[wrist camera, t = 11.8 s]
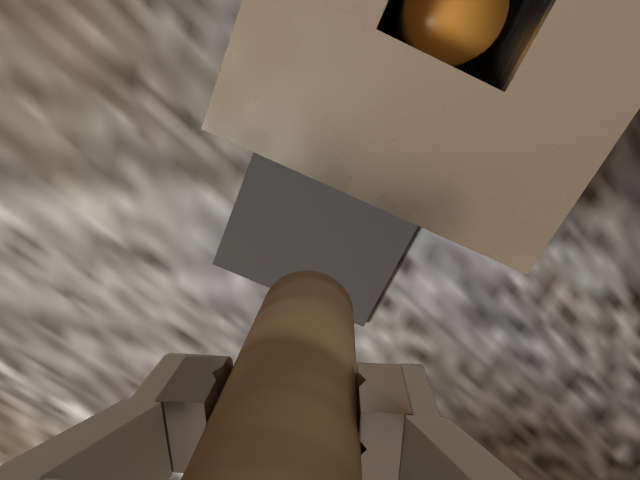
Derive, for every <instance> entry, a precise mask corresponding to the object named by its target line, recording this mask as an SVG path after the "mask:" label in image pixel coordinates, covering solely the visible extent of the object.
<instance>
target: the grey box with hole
mask: <svg viewBox="0 0 640 480" xmlns="http://www.w3.org/2000/svg"><path fill="white" fill-rule="evenodd" d="M389 1H390V0H242V3H241V6H240V9H239V13H238V16H237V19H236V22H235V25H234V28H233V31H232V35H231V38H230V41H229V44H228V47H227V50H226V53H225V57H224V60H223V63H222V66H221V69H220V72H219V75H218V78H217V82H216V85H215V88H214V91H213V94H212V97H211V100H210V104H209V107H208V110H207V113H206V116H205V119H204V122H203V126H202V129H203V130H205V131H207V132H210V133H212V134H214V135H216V136H219V137H221V138H223V139H225V140H227V141H230V142H232V143H234V144H236V145H239V146H241V147H243V148H245V149H248V150H250V151H252V152H254V153H257V154H259V155H261V156H263V157H265V158H268V159H270V160H272V161H274V162H277V163H279V164H281V165H283V166H286V167H288V168H290V169H292V170H295V171H297V172H299V173H301V174H304V175H306V176H308V177H310V178H312V179H315V180H317V181H319V182H321V183H324V184H326V185H328V186H330V187H333V188H335V189H337V190H339V191H342V192H344V193H346V194H348V195H350V196H353V197H355V198H357V199H359V200H362V201H364V202H366V203H368V204H371V205H373V206H375V207H377V208H380V209H382V210H384V211H386V212H389V213H391V214H393V215H395V216H397V217H400V218H402V219H404V220H406V221H409V222H411V223H413V224H415V225H418V226H420V227H422V228H424V229H427V230H429V231H431V232H433V233H435V234H438V235H440V236H442V237H444V238H447V239H449V240H451V241H453V242H456V243H458V244H460V245H462V246H465V247H467V248H469V249H471V250H474V251H476V252H478V253H480V254H482V255H485V256H487V257H489V258H491V259H494V260H496V261H498V262H500V263H503V264H505V265H507V266H509V267H512V268H514V269H516V270H518V271H521V272H523V273H525V274H528V273H529V271H530V270H531V268H532V267H533V265H534V264H535V262H536V261H537V259H538V258H539V256H540V255H541V254H542V252H543V251H544V249H545V248H546V246H547V245H548V243H549V242H550V240H551V239H552V237H553V236H554V234H555V233H556V231H557V230H558V228H559V227H560V225H561V224H562V222H563V221H564V219H565V218H566V216H567V215H568V214H569V212H570V211H571V209H572V208H573V206H574V205H575V203H576V202H577V200H578V199H579V197H580V196H581V194H582V193H583V191H584V190H585V188H586V187H587V185H588V184H589V182H590V181H591V179H592V178H593V177H594V175H595V174H596V172H597V171H598V169H599V168H600V166H601V165H602V163H603V162H604V160H605V159H606V157H607V156H608V154H609V153H610V151H611V150H612V148H613V147H614V145H615V144H616V142H617V141H618V139H619V138H620V137H621V135H622V134H623V132H624V131H625V129H626V128H627V126H628V125H629V123H630V122H631V120H632V119H633V117H634V116H635V114H636V113H637V111H638V110H639V108H640V0H510V1H509V9H508V14H507V17H506V20H505V23H504V26H503V28H502V30H501V32H500V33H499V35H498V37H497V38H496V39H495V41H494V42H493V43H492V44H491V45H490V46H489V47H488V48H487V49H486V50H485V51H484V52H483V53H481V54H480V55H478V56H477V57H475V58H474V59H473V61H472V62H471V64H470V66H469V68H468V70H467V72H466V73H465V72H463V71H460V70H458V69H456V68H454V67H452V66H450V65H448V64H446V63H444V62H442V61H440V60H438V59H436V58H434V57H432V56H430V55H428V54H426V53H424V52H422V51H420V50H418V49H416V48H414V47H412V46H410V45H407V44H405V43H403V42H401V41H399V40H397V39H395V38H393V37H391V36H389V35H387V34H385V33H383V32H381V31H379V30H377V29H378V27H379V24H380V22H381V20H382V17H383V15H384V13H385V10H386V8H387V6H388V3H389Z"/></svg>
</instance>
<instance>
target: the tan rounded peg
mask: <svg viewBox="0 0 640 480" xmlns="http://www.w3.org/2000/svg"><path fill="white" fill-rule="evenodd" d="M181 480H362V464H361V445H360V437H359V423H358V398H357V384H356V354H355V336H354V317H353V306H352V302H351V299H350V297H349V295H348V293H347V291H346V290H345V289H344V287H343V286H342V285H341V284H340V283H339V282H338V281H336V280H335V279H334V278H332V277H330V276H328V275H326V274H323V273H320V272H316V271H297V272H293V273H290V274H287V275H285V276H283V277H282V278H280V279H279V280H277V281H276V282H275V283H274V284H273V285H272V287H271V288H270V289H269V291H268V293H267V295H266V297H265V299H264V301H263V304H262V306H261V308H260V310H259V312H258V314H257V317H256V319H255V321H254V323H253V325H252V327H251V330H250V332H249V334H248V336H247V338H246V340H245V343H244V345H243V347H242V349H241V351H240V353H239V356H238V358H237V360H236V362H235V364H234V366H233V368H232V371H231V373H230V375H229V377H228V379H227V381H226V384H225V386H224V388H223V390H222V392H221V394H220V397H219V399H218V401H217V403H216V405H215V407H214V410H213V412H212V414H211V416H210V418H209V420H208V423H207V425H206V427H205V429H204V431H203V433H202V436H201V438H200V440H199V442H198V444H197V446H196V448H195V451H194V453H193V455H192V457H191V459H190V461H189V464H188V466H187V468H186V470H185V472H184V474H183V477H182V479H181Z"/></svg>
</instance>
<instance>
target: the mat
mask: <svg viewBox="0 0 640 480" xmlns="http://www.w3.org/2000/svg"><path fill="white" fill-rule="evenodd" d="M417 227H418V225H415V224H413V223H411V222H409V221H406V220H404V219H402V218H400V217H397V216H395V215H393V214H391V213H389V212H386V211H384V210H382V209H380V208H377V207H375V206H373V205H371V204H368V203H366V202H364V201H362V200H359V199H357V198H355V197H353V196H350V195H348V194H346V193H344V192H342V191H339V190H337V189H335V188H333V187H330V186H328V185H326V184H324V183H321V182H319V181H317V180H315V179H312V178H310V177H308V176H306V175H304V174H301V173H299V172H297V171H295V170H292V169H290V168H288V167H286V166H283V165H281V164H279V163H277V162H274V161H272V160H270V159H268V158H265V157H263V156H261V155H259V154H257V153H254V154H253V156H252V159H251V162H250V164H249V167H248V170H247V172H246V175H245V178H244V181H243V183H242V186H241V189H240V191H239V194H238V197H237V199H236V202H235V205H234V208H233V210H232V213H231V216H230V218H229V221H228V224H227V227H226V229H225V232H224V235H223V237H222V240H221V243H220V245H219V248H218V251H217V254H216V256H215V259H214V262H213V264H214V265H216V266H219V267H221V268H224V269H226V270H228V271H231V272H233V273H236V274H238V275H240V276H243V277H245V278H248V279H250V280H252V281H255V282H257V283H260V284H262V285H264V286H267V287H269V288H271V287H272V285H273V284H274V283H275V282H276V281H277V280H279V279H280V278H282V277H283V276H285V275H287V274H290V273H293V272H297V271H316V272H320V273H323V274H326V275H328V276H330V277H332V278H334V279H335V280H336V281H338V282H339V283H340V284H341V285H342V286H343V287H344V289H345V290H346V291H347V293H348V295H349V297H350V299H351V302H352V306H353V317H354V323H356V324H358V325H361V326H364V324H365V323H366V321H367V319H368V317H369V315H370V313H371V312H372V310H373V308H374V306H375V304H376V302H377V301H378V299H379V297H380V295H381V293H382V291H383V290H384V288H385V286H386V284H387V282H388V280H389V279H390V277H391V275H392V273H393V271H394V269H395V268H396V266H397V264H398V262H399V260H400V258H401V257H402V255H403V253H404V251H405V249H406V247H407V246H408V244H409V242H410V240H411V238H412V236H413V235H414V233H415V231H416V229H417Z"/></svg>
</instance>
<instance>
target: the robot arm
mask: <svg viewBox="0 0 640 480" xmlns="http://www.w3.org/2000/svg"><path fill="white" fill-rule="evenodd" d="M232 368H233V362H232V359H231V358H230V357H228V356H213V355H198V354H180V353H169V354H166V355H165V356H164V357H163V358H162V359H161V361H160V362H159V363H158V365H157V366H156V367H155V368H154V370H153V371H152V372H151V373H150V375H149V376H148V377H147V378H146V380H145V381H144V382H143V383H142V385H141V386H140V387H139V389H138V390H137V391H136V392H135V394H134V395H133V396H132V397H131V399H130V400H122V401H120V402H118V403H116V404H114V405H112V406H110V407H109V408H107V409H105V410H103V411H101V412H99V413H97V414H96V415H94V416H92V417H90V418H88V419H86V420H84V421H83V422H81V423H79V424H77V425H75V426H73V427H72V428H70V429H68V430H66V431H64V432H62V433H60V434H59V435H57V436H55V437H53V438H51V439H49V440H47V441H46V442H44V443H42V444H40V445H38V446H36V447H34V448H33V449H31V450H29V451H27V452H25V453H23V454H21V455H20V456H18V457H16V458H14V459H12V460H10V461H8V462H7V463H5V464H3V465H1V466H0V480H167V479H168V478H169V477H170V476H171V475H172V472H177V473H184V472H185V470H186V468H187V466H188V464H189V461H190V459H191V457H192V455H193V453H194V451H195V448H196V446H197V444H198V442H199V440H200V438H201V436H202V433H203V431H204V429H205V427H206V425H207V423H208V420H209V418H210V416H211V414H212V412H213V410H214V407H215V405H216V403H217V401H218V399H219V397H220V394H221V392H222V390H223V388H224V386H225V384H226V381H227V379H228V377H229V375H230V373H231V371H232ZM356 384H357V398H358V423H359V437H360V445H361V464H362V480H522V479H521V478H520V477H518V476H517V475H516V474H515V473H514V472H513V471H511V470H510V469H509V468H508V467H507V466H505V465H504V464H503V463H502V462H501V461H499V460H498V459H497V458H496V457H495V456H493V455H492V454H491V453H490V452H489V451H488V450H486V449H485V448H484V447H483V446H482V445H480V444H479V443H478V442H477V441H476V440H474V439H473V438H472V437H471V436H470V435H468V434H467V433H466V432H465V431H464V430H462V429H461V428H460V427H459V426H458V425H457V424H455V423H454V422H453V421H452V420H451V419H449V418H448V417H441V415H440V413H439V410H438V407H437V404H436V401H435V398H434V395H433V392H432V389H431V386H430V384H429V381H428V378H427V375H426V372H425V369H424V366H422V365H421V364H375V363H357V368H356Z"/></svg>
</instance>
